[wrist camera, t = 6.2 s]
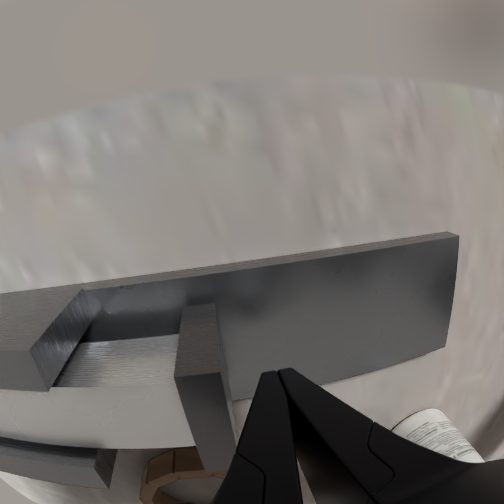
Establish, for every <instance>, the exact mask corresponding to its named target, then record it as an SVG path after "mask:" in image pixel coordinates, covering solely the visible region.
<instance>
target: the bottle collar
mask: <svg viewBox="0 0 504 504" xmlns="http://www.w3.org/2000/svg"><path fill="white" fill-rule="evenodd" d="M226 474H227V471H220V472H210V473H206V472H205V469H204V466H203V464H202V461H201V458H200V456H199V453H198V450H197V447H191V448H177V449H175V450H174V449H173V450H170V451H168V452H166V453H164V454H162V455H160V456H158V457H156V458H153V459H151V460H149V461H148V463H147V466H146V468H145V471H144V473H143V476H142V481H141V489H140V500H141V501H142V503H143V504H187V503H181V502H179V501H177V500H175V499H173V498H171V497H169V496H167V495H165V494H164V493H162V492H161V491H160V489H159V488H158V487H160V486H163V485H166V484H168V483H171V482H173V481H176V480H178V479H187V478H201V477H218V478H225V476H226Z"/></svg>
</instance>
